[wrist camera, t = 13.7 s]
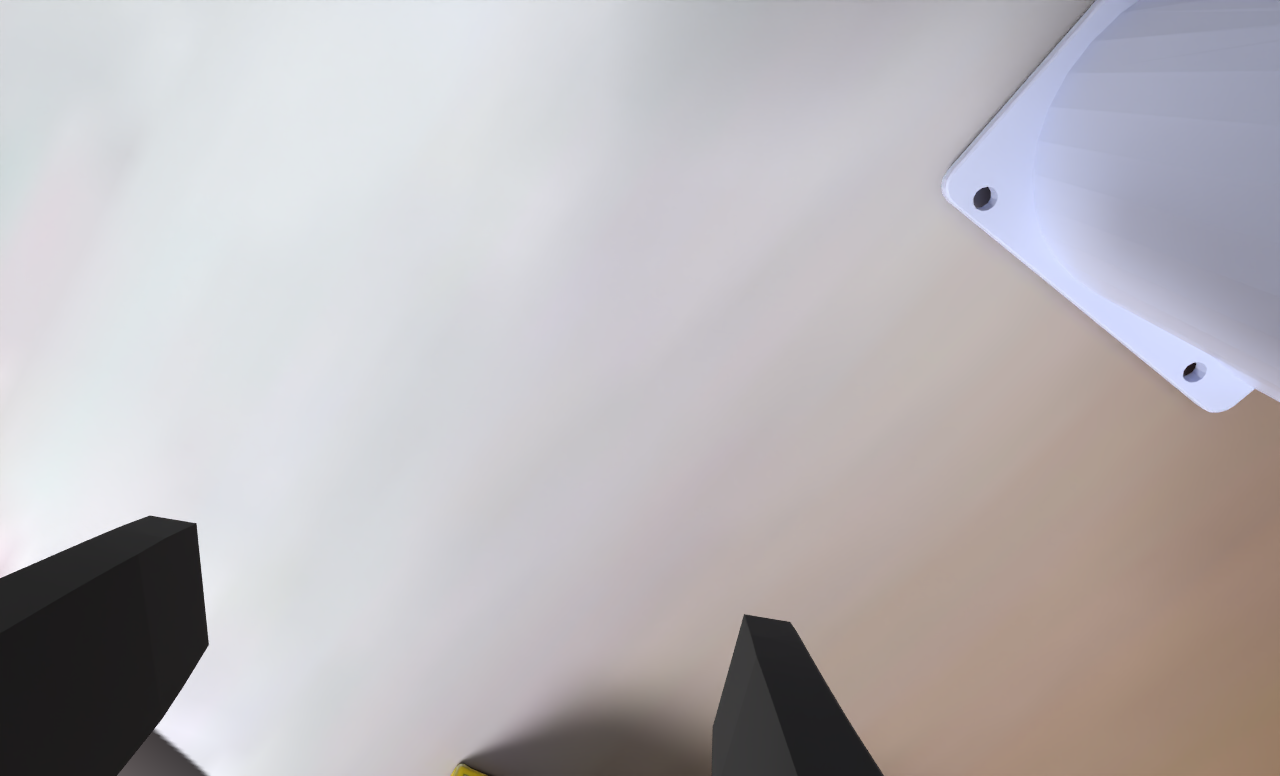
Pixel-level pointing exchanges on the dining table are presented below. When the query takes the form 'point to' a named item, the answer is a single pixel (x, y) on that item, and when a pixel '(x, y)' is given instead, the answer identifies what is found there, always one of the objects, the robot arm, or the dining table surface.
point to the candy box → (466, 771)
